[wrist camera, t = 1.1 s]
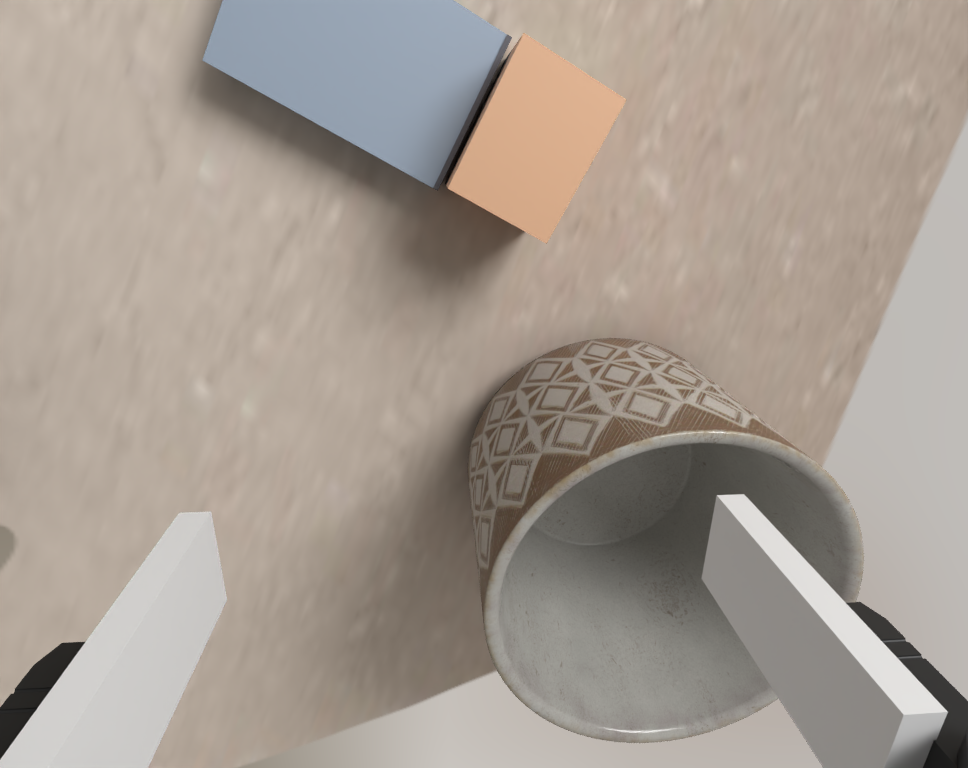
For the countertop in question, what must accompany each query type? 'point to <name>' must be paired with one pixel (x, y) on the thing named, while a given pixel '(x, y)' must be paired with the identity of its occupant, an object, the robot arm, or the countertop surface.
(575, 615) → the planter
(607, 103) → the block
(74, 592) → the countertop surface
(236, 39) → the blue-grey slab
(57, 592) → the countertop surface
